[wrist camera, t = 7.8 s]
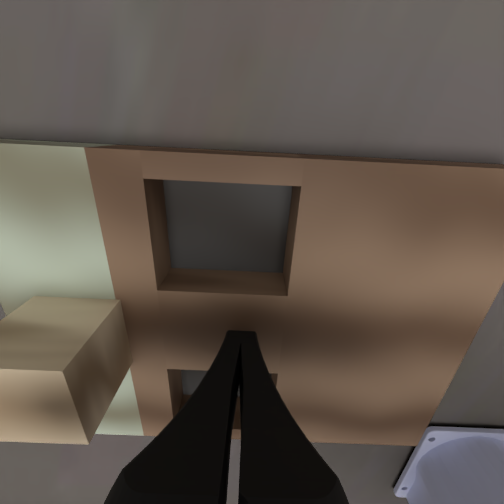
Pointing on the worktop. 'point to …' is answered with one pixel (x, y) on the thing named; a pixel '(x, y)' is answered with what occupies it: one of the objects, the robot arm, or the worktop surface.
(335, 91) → the worktop surface
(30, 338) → the beech block
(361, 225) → the board
